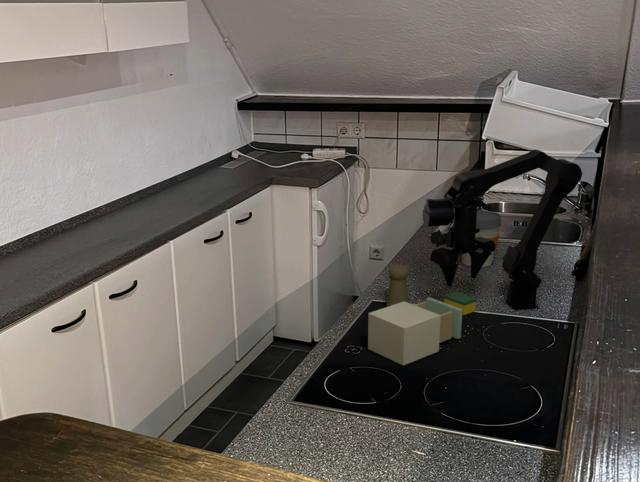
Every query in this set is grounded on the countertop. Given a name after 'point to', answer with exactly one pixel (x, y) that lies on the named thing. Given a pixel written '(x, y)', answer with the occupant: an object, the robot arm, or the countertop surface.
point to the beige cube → (403, 332)
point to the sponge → (461, 302)
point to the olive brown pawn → (397, 285)
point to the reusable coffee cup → (486, 232)
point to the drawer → (445, 318)
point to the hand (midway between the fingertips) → (461, 282)
